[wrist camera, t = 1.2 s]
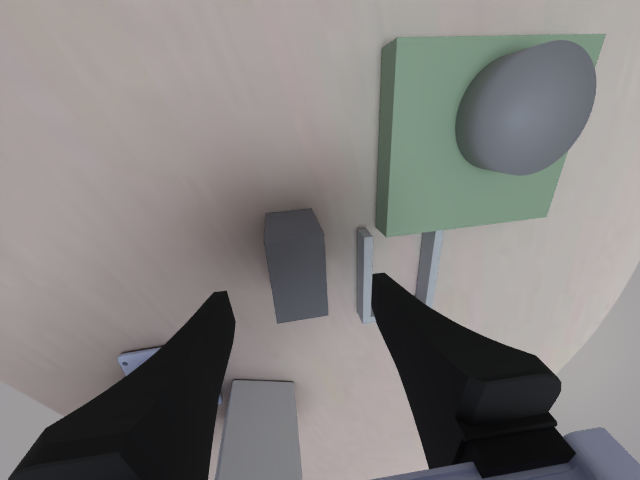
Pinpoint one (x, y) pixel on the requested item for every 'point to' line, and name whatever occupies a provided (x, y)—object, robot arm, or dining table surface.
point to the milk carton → (260, 433)
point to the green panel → (472, 136)
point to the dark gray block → (296, 264)
